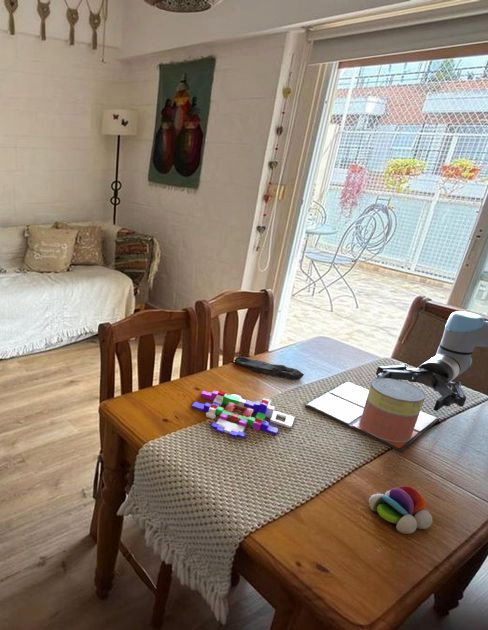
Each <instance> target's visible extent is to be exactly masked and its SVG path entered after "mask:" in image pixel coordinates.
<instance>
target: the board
mask: <svg viewBox="0 0 488 630" xmlns="http://www.w3.org/2000/svg"><path fill="white" fill-rule="evenodd" d="M368 392H369V389H367V388H365V387H362V386H360V385H358V384H355V383H353V382H350V381H346V382H344V383H342V384H340V385H338V386H336V387H335V388H333V389H331V390H330V391H328V392H326V393H324V394H322V395H321V396H318V397H317V398H315V399H313V400H311V401H309V402H308V403H306V404H305V405H304V406H305V407H306V408H308V409H310V410H312V411H314V412H316V413H318V414H320V415H323V416H324V417H326V418H329V419H331V420H332V421H335V422H336V423H339V424H341V425H343V426H345V427H347V428H348V429H352V430H354V431H355V432H358V433H359V434H362V435H364V436H366V437H368V438H370V439H372V440H374V441H377V442H379V443H380V444H383V445H385V446H387V447H388V448H390V449H393V450H395V451H397V452H400V453H401V452H402V451H404V450H405V449H406V448H407V447H409V446H410V445H411V444H412V443H414V442H415V441H416V440H417V439H418V438H419V437H421V436H422V435H424V433H426V432H427V431H428V430H429V429H430V428H432V427H434V425H435V424H436V423H438V422H439V421H440V418H439V417H436V416H434V415H431V414H429V413H427V412H424V411H422V410H420V413H419V416H418V419H417V422H416V424H415V427H414V430H413V433H412V437H411V439H410V440H409V441H407V442H392V441H387V440H384V439H381V438H378V437H376V436H374V435H372V434H370V433H368V432H367V431H366V430H364V429H363V428H362V426H361V425H360V419H361V416H362V413H363V409H364V406H365V403H366V399H367V396H368Z"/></svg>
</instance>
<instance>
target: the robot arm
mask: <svg viewBox="0 0 488 630" xmlns="http://www.w3.org/2000/svg"><path fill="white" fill-rule="evenodd" d="M475 347H476V348H477V347H480V348H488V320H485V318H484V317H483V316H482V315H480V314H478V313H474V312H468V311H462V310H460V311H459V310H458V311H453V312H452V313H451V314H450V315H449V317H448V319H447V321H446V324H445V326H444V331H443V334H442V337H441V340H440V343H439V345H438V348H437V351H436V353H435V355H434V356H433V357H431V358H430V359H428V360H426V361H425V362H423V363H422V364H420V365H419V366H418V367H417V368H410V367H409V364H407V363H401V364H394V365H380V366H379V365H378V366H377V369H376V371H375V375H376V378H391V379H396V380H400V381H407V382H408V383H418V384H422V385H424V386H426V387H428V388H431V389H432V390H433V391H434V392H437V393H438V394H439V395H440V397H439V398H438V399H436V401H435V403H434V406H433V411H435V412H438V411H439V410H441V409H442V408H443V407H444V406H445V407H450V406H452V405H454V404H456V405H457V406H458V407H462V408H463V407H464V406H465V403H466V401H467V396H466V394H465V392H464V391H463V389H462V387H461V386H462V382H460V381H456V382H452V381H453V380H454V379H456V378H458V376H460V375H462V374H463V373H465V372H466V371H468V370H469V368H470V367H471V365H472V363H473V358H472V354H473V352H474V350H475Z"/></svg>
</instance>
